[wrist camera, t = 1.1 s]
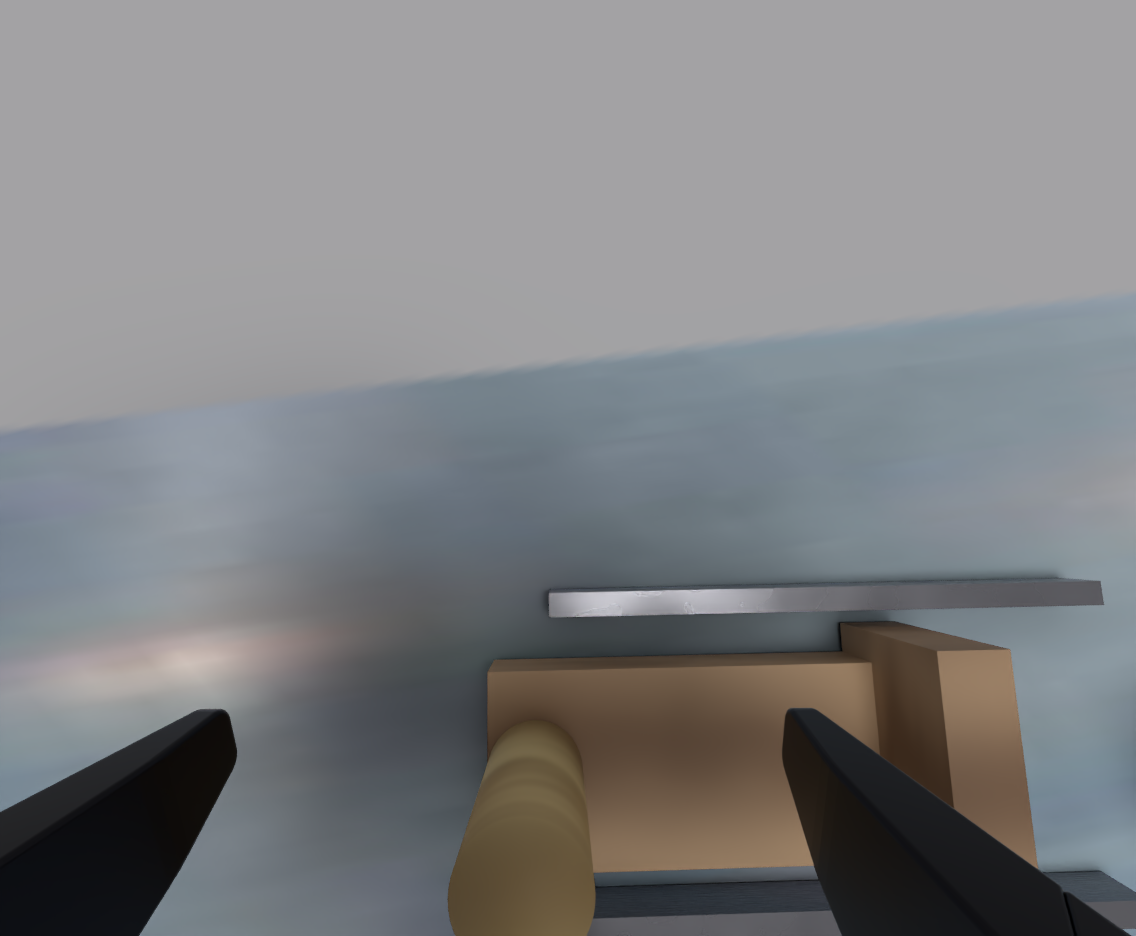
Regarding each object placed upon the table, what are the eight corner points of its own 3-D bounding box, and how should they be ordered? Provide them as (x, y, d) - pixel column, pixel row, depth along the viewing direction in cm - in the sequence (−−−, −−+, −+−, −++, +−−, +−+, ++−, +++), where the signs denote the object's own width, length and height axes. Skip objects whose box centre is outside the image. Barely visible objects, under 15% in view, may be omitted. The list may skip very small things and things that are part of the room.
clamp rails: (1104, 896, 18) (1152, 928, 17) (554, 914, 18) (554, 948, 17) (1059, 578, 20) (1100, 581, 18) (549, 589, 19) (548, 593, 18)
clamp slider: (918, 861, 18) (1182, 1098, 11) (494, 875, 18) (445, 1127, 10) (894, 621, 19) (1117, 675, 12) (494, 630, 19) (449, 692, 11)
